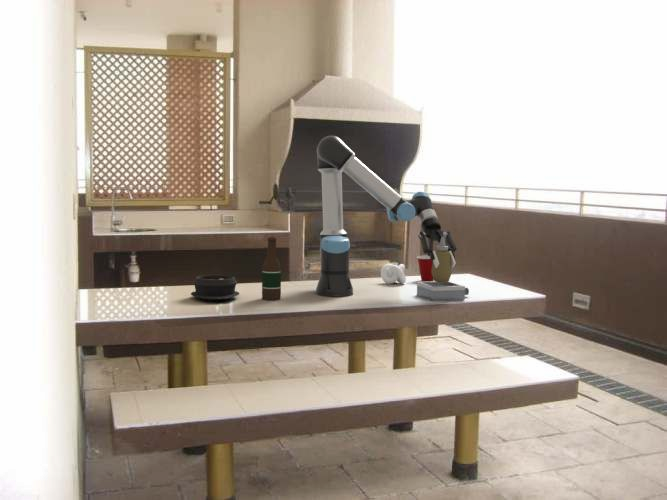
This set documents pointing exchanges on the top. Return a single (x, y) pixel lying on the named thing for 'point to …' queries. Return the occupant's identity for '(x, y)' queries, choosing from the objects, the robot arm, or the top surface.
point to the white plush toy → (393, 273)
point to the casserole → (215, 287)
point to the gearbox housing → (441, 291)
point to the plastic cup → (425, 267)
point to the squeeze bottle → (442, 263)
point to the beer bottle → (271, 273)
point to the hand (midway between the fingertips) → (445, 265)
